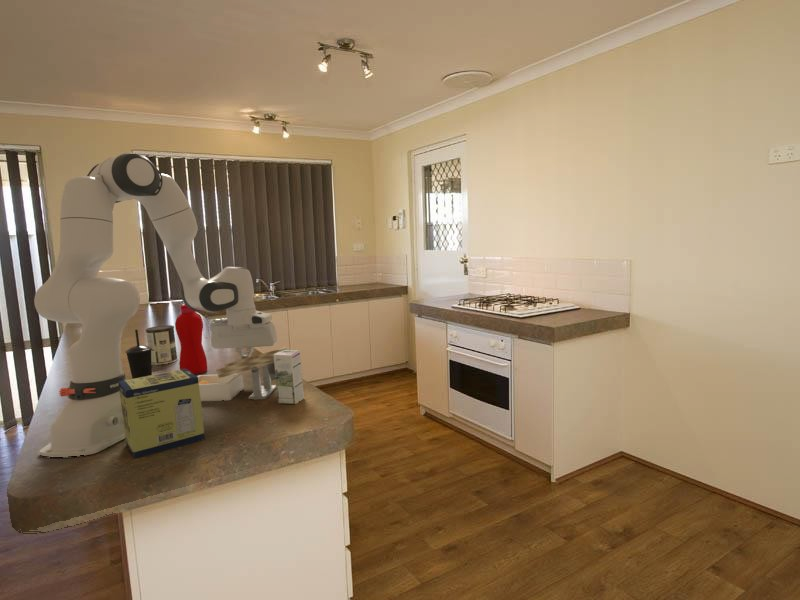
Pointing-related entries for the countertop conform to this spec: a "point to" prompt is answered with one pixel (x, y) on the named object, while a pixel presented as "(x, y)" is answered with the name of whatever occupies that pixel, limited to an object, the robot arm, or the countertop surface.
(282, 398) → the syrup box
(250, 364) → the lever
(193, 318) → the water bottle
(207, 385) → the white open tray
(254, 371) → the pivot stand
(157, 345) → the coffee can
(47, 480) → the countertop surface
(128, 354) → the drinking cup
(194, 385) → the protein box
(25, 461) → the countertop surface
